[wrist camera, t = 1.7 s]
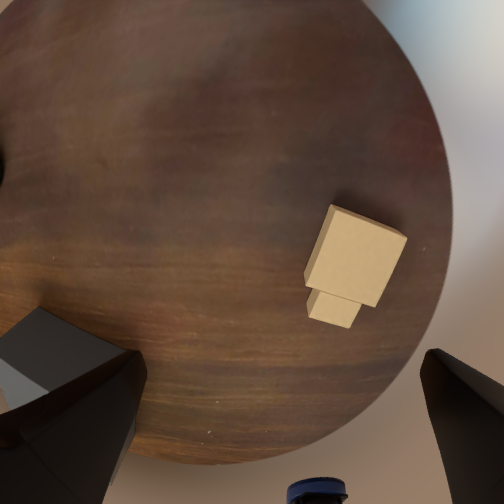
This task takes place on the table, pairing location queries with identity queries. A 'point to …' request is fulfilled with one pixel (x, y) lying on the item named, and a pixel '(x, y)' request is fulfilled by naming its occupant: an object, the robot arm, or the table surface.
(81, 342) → the block
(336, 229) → the cream pad
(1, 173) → the soda can
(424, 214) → the table surface
